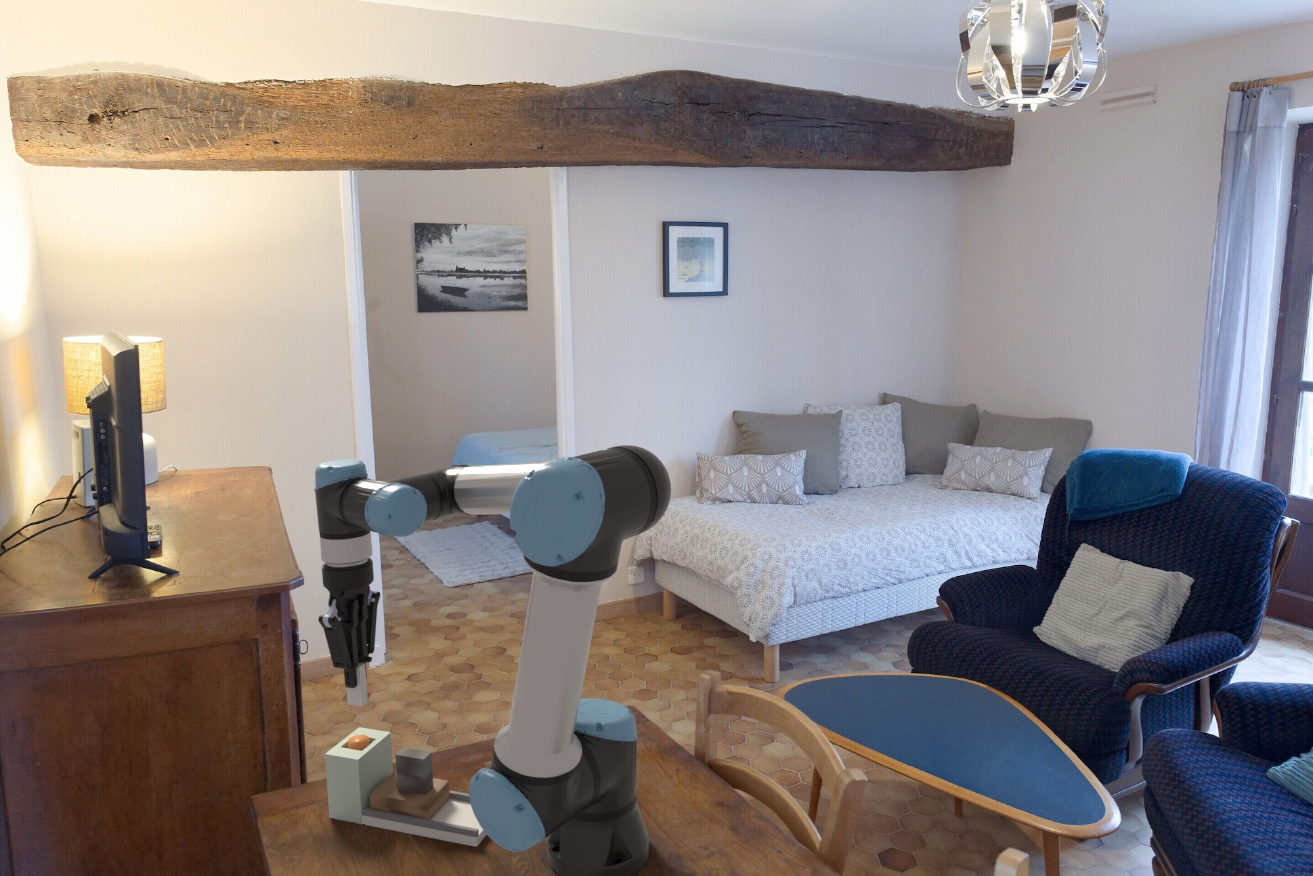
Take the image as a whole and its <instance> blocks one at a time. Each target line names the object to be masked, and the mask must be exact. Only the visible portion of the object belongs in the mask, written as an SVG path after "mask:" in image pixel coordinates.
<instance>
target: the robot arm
mask: <svg viewBox="0 0 1313 876" xmlns="http://www.w3.org/2000/svg"><path fill="white" fill-rule="evenodd" d="M314 478H315V479H314V483H315V486H314V487H315V488H314V493H315V503H316V504H315V505H316V515H317V523H318V524H317V525H318V533H319V542H320V543H319V544H320V559H321V561H322V562H323V564H322V565H321V574H322V575H321V576H322V577H321V579H322V585H323V587H324V588H325V590H326V589H327V591H328V592H329V598H328V601H327V602H328V603H327V604H328V607H329V608H328V610H327V611H326V613H325V614H320V615H318V622H319V624H320V625H321V627H322V629H323V632H324V635H325V639H326V643H327V648H328V651H329V654H330V658H331V662H332V665H333V668H335V669H343V675H344V676H343V677H344V685H345V689H346V700H347V705H350V706H358V707H363V706H365V705H367V704H368V700H369V699H368V686H367V685H368V684H367V678H368V675H367V674H368V673H367V663H371V662H372V661H373V657H372V656H369V655H370V654H372V655H373V654H374V652H375V645H376V631H377V620H378V619H377V618H378V605H379V601H380V598H381V592H380V591H378V590H377V591H376V590H375V591H374V590H371V587H370V585H371V584H373V582H374V581H375V580H374V579H375V578H374V576H375V575H374V562H373V558H371V557H372V556H373V545H372V544H373V543H372V532H373V533H377V534H378V535H379V534H380V535H382V536H387V537H396V538H397V537H399V538H403V537H404V538H405V537H410V536H412V535H413V534H415V532H417V530H419V529H420V528H421V527H422V526H423V524H425V523H426V524H427V523H429V522H433V521H435V520H440V519H443V518H448V517H453V516H469V515H471V516H473V515H509V523H510V530H511V531H515V536H514V537H513V539H514V541H515V544H516V546H517V547H518V549H519V551H520V552H521V553H522V555H523V561H524V563H525V565H526V566H527V567H528V568H529V569H530V571H532V577H531V586H530V590H529V595H528V597H529V598H528V601H527V611H526V616H525V622H524V629H523V634H522V640H521V648H520V653H519V659H518V667H517V671H516V673H517V674H516V678H515V686H514V692H513V696H512V703H511V704H512V705H511V709H510V716H509V721H508V722H509V723H508V724H506V725H505V726H503V727H502V728H501V729H500V730H499V731H498V732H497V734H496V737H495V739H494V742H493V749H492V756H491V761H490V764H489V765H488V766H486V767H482V768H480V769H479V770H478V771H477V773H475V774H474V775H473V777H471V780H470V782H469V787H468V794H469V798H470V803H471V807H472V810H473V813H474V815H475V817H476V819H477V820H478V822H479V824H480V826H481V827H482V829H483V830H484V832H485V833H486V834H487V835H486V836H487V837H489V839H490V840H492V842H494V843H495V845H498V846H499V847H501V848H502V849H504V850H505V851H509V852H513V853H514V852H515V853H519V852H525V851H527V850H529V849H530V848H532V847H534V846H535V845H538V844H541V843H543V842H544V841H545V839H546V838H547V841H546V842H547V843H546V851H547V852H546V853H547V862H548V864H549V865H550V867H551V868H552V870H553V871H554V872H555V873H556V874H557V875H559V876H633V875H634V874H636V873H637V872H638V871H640V869H641V868H643V867H644V865H645V863H646V862H647V861H648V858H649V854H650V844H649V843H650V842H649V841H650V838H649V833H648V830H647V829H648V828H647V827H646V824H645V822H644V819H643V816H642V814H641V813H642V812H641V810H640V807H639V804H638V793H637V791H638V789H637V788H638V787H637V786H638V785H637V784H638V783H637V782H638V777H637V776H638V771H637V769H638V765H637V764H638V763H637V762H638V751H637V750H638V739H639V737H638V736H639V735H638V734H637V722H636V721H637V720H636V718H635V714H634V713H633V711H632V710H631V709H630V708H629V707H627V706H626V705H623V704H622V703H619V702H617V701H614V700H608V699H603V698H593V697H592V698H591V697H589V698H582V692H583V686H584V682H585V676H586V670H587V665H588V659H589V654H590V649H591V643H592V638H593V632H594V627H595V621H596V617H597V611H598V606H599V599H600V594H601V589H602V585H603V583H605V582H607V581H609V580H610V579H613V577H614V576H615V574H616V573H617V570H618V567H619V565H618V564H619V559H620V555H621V550H622V549H621V548H622V544H623V542H624V541H625V540H627V539H631V538H633V537H635V536H639V535H640V534H643V533H645V532H647V531H649V530H650V529H652V528H653V527H654V526H655V525H657V524H658V523H659V522H660V520H662V518H663V516H664V515H665V513H666V512H667V510H668V507H669V506H670V502H671V496H672V484H671V478H670V475H669V472H668V469H667V468H666V466H665V464H664V463H663V462H662V461H661V459H659V458H658V456H657V455H656V454H654V453H653V452H652V451H650V450H648V449H646V448H643V447H641V446H637V445H629V444H627V445H615V446H612V447H608V448H604V449H600V450H597V451H592V452H588V453H583V454H580V455H576V456H566V457H565V456H564V457H558V458H555V459H552V460H551V461H550V460H549V461H534V462H532V461H531V462H516V463H515V462H514V463H501V464H500V463H499V464H485V465H484V464H483V465H480V464H479V465H478V464H477V463H470V462H469V463H461V464H454V465H451V466H449V467H445V468H439V469H436V470H435V469H434V470H431V471H427V472H421V473H417V474H411V475H406V476H402V477H401V476H400V477H399V478H398V477H397V478H393V479H388V480H387V479H386V480H378V479H371V478H368V471H367V467H366V464H365V463H364V461H362V460H359V459H350V458H349V459H335V460H329V461H325V462H322V463H320V464H319V465H317V466H316V468H315V470H314Z"/></svg>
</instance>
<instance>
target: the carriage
mask: <svg viewBox="0 0 1313 876" xmlns="http://www.w3.org/2000/svg"><path fill="white" fill-rule="evenodd" d="M433 769H434V768H433V752H432V751H430V750H429V751H428V750H424V749H423V750H422V749H415V748H410V747H404V746H403V747H402V748H401V749H400V750H399V751H398V752H396V754H395V770H396V771H394V770H393V773H392V774H391V775H390V776H389V777H388V778H387V779H385V780H384V781H383V782H382V783H381V784H380V785H379V786H378V787H377V788H376V789H375V790H373V791H372V792H371V793H370V807H371V809H375V810H381V811H386V812H391V813H396V814H402V815H407V816H412V817H417V818H422V819H428V820H430V818H431V817H432V816H433V815H434V814H435V813H436V812H437V811H438V810H439V809H440V808H441V807H442V806H443V805H444V803H445V802H446V801H447V800H448V799H449V798H450V791H451V790H450V780H447V779H443V778H442V779H441V778H437V777H436V778H434V776H433V775H434V773H433V772H434V771H433ZM449 790H450V791H449Z"/></svg>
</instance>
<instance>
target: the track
mask: <svg viewBox="0 0 1313 876" xmlns="http://www.w3.org/2000/svg"><path fill="white" fill-rule="evenodd" d="M449 791H450V798H449V799H448V800H447V801H446V802H445V803H444V805H443V806H442V807H441V808H440V809H439V810H438V811H437V812H436V813H435V814H434V815H433V816H432V817H431V818H430V820H428V819H422V818H417V817H412V816H407V815H402V814H396V813H391V812H386V811H381V810H375V809H371V807H370V808H365V807H364V808H363V809H362V824H361V825H363V824H365V825H364V826H367V827H368V826H369V827H373V828H378V829H379V828H380V829H383V830H389V831H393V832H399V833H404V834H409V835H415V836H420V837H426V838H430V839H435V840H441V841H445V842H450V843H456V844H460V845H465V846H471V847H476V848H477V847H478V846H480V844H481V842H483V840H484V839H485V838H486V836H488V835H487V834H486V833H485V832H484V830H483V829H482V827H481V826H480V824H479V822H478V820H477V819H476V817H475V815H474V813H473V810H472V807H471V803H470V798H469V793H467V792H462V791H456V790H451V789H449Z"/></svg>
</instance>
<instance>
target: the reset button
mask: <svg viewBox="0 0 1313 876" xmlns="http://www.w3.org/2000/svg"><path fill="white" fill-rule="evenodd" d="M368 745H369V737H368V736H366V735H356V736H353V737H351V738H349V739H348V749H354V750H360V751H362V750H364V749H365V748H366V747H367V746H368Z"/></svg>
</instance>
